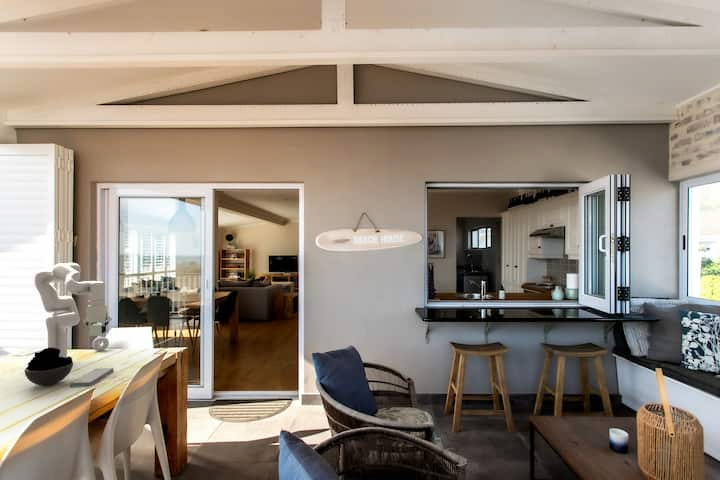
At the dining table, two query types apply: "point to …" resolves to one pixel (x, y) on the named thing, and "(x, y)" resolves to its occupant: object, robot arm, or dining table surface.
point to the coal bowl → (48, 367)
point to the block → (95, 330)
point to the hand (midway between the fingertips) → (97, 332)
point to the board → (91, 377)
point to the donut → (98, 339)
